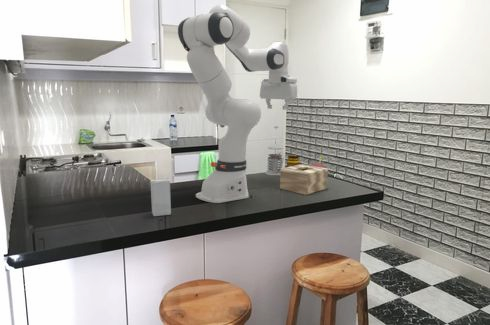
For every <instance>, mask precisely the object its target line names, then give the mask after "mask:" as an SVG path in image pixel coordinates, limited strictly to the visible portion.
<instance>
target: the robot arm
mask: <svg viewBox="0 0 490 325" xmlns="http://www.w3.org/2000/svg"><path fill="white" fill-rule="evenodd" d="M177 34H178V38H179V41H180V43H181V46H182V47H183V48H184V50H185V51H187V54H186V62H187V64H188V67H189V69H190V71H191V73H192V75H193V77H194V78H195V80H196V82H197V84H198V85H199V87H200V88H201V91H202V92H203V93H204V96H205V98H206V100H207V105H206V107H205V116H206V118H207V120H208V121H209V122H210V123H212V124H216V125H218V126H226V127H227V132H226V134H224V136H222V137H221V138H220V139H219V140H218V159H217V161H216V162H215V161H211V163H210V167H212V168H214V170H213V171H212V172H211V173H210V174H209V175H208V176H207V177H206V178H205V179H204V180H203V182H202V185H201V191H199V192H197V193H195V198H197V199H198V200H201V201H205V202H208V203H213V204H221V203H226V202H232V201H238V200H244V199H249V196H250V195H249V194H250V193H249V190H248V184H247V183H248V181H247V174H246V169H247V160H246V155H247V154H246V151H247V141H248V137H249V134H250V133H251V131H252V130H253V128H254V127H255V126H257V125H258V124H259V123H260V120H261V118H262V108H261V107H260V104H258V103H257V102H256V101H253V100H250V99H246V98H233V97H232V96H231V95H230V94H229V93H230V91H231V89H232V83H233V82H232V80H231V79H230V77H229V75H228V73H227V71H226V70H225V67H224V66H223V64H222V62H221V61H220V59H219V58H218V56H217V55H216V53H215V46H219V45H225V46H226V48H227V49H228V51H229V52H230V53H231V54H233V56H234V57H235V58H236V59H237V60H238V62H240V63H241V65H242V68H243V69H244V70H245V71H246V72H249V73H254V72H267V71H268V78H267V79H266V78H264V79H262V81H261V82H260V83H261V84H260V88H259V97H260V99H265V103H266V105H267V109H270V110H271V109H273V105H272V104H271V101H272V100H284V104H283V105H282V110H284V111H285V110H288V106H289V104H290V102H291V101H293V100H294V101H295V100H296V99H297V98H298V86H297V84H296V83H298V82H297V81H298V79H297V78H296V77H294V76H291V75H289V71H288V66H289V47H288V44H287V43H285V42H282V41H273V42H271V43H270V46H267V47H265V48H247V47H246V46H245V45H246V44H247V43H248V42H249V39H250V36H251V28H250V25H249V24H248V22H247V21H246V20H245V18H243V17H242V16H240V14H239V13H237V12H236V11H234V10H233V9H232V8H230V7H228V6H227V5H224V4H216V5H215V6H213V7H212V8H211V9H210V10H209V12H208V13H204V14H203V13H201V14H197V15H194V16H192V17H187V18H185V19H183V20H182V21H181V22H180V23H179V24H178V27H177Z"/></svg>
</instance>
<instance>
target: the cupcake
mask: <svg viewBox="0 0 490 325" xmlns="http://www.w3.org/2000/svg"><path fill="white" fill-rule="evenodd" d="M322 155H323V154H322V153H321V155H320V157H319V162H315V163H312V164H310V166H316V167H321V168H327V167H326V166H325V165H324V164H323V163H321V161H322V157H323V156H322Z"/></svg>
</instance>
